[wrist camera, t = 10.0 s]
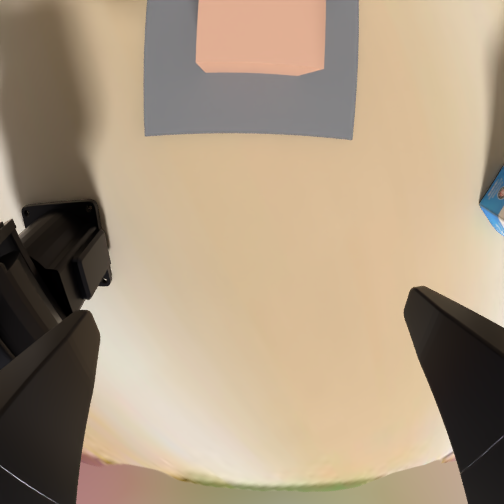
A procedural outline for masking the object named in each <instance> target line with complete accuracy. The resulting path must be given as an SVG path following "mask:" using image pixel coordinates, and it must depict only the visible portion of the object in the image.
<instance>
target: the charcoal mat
mask: <svg viewBox="0 0 504 504" xmlns="http://www.w3.org/2000/svg"><path fill="white" fill-rule="evenodd" d="M198 3H199V0H147V11H146V25H145V46H144V127H145V136H157V135H174V134H199V133H259V134H285V135H302V136H315V137H327V138H337V139H347V140H352V137H353V127H354V115H355V102H356V87H357V69H358V37H359V0H326V27H325V57H324V69H322V70H318V71H314V72H310V73H307V74H303V75H300V76H291V75H279V74H263V73H205V72H204V71H203V70H202V69H201V68H200V67H199V66H198V64H197V63H196V39H197V19H198Z"/></svg>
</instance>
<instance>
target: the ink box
mask: <svg viewBox="0 0 504 504" xmlns="http://www.w3.org/2000/svg"><path fill="white" fill-rule="evenodd" d="M480 207H481V209H482V210H483V212H484V214H485V215H486V217H487V218H488V220H489V221H490V223H491V224H492V225H493V227H494V228H495V229H496V231H497V232H499V233H500V234H501V235H503V236H504V166H503V167H502V169H501V171H500V172H499V174H498V176H497V177H496V179H495V180H494V182H493V184H492V185H491V187H490V188H489V190H488V191H487V193H486V194H485V196H484V197H483V199H482V200H481V202H480Z"/></svg>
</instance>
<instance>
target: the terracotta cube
mask: <svg viewBox="0 0 504 504" xmlns="http://www.w3.org/2000/svg"><path fill="white" fill-rule="evenodd" d="M325 27H326V0H199V3H198V19H197V39H196V63H197V64H198V66H199V67H200V68H201V69H202V70H203V71H204V72H205V73H263V74H279V75H291V76H300V75H303V74H307V73H310V72H314V71H318V70H322V69H324V57H325Z"/></svg>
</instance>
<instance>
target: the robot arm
mask: <svg viewBox="0 0 504 504" xmlns="http://www.w3.org/2000/svg"><path fill="white" fill-rule="evenodd" d="M88 205H90V206H91V207H92V210H90V209H89V208H88ZM27 210H28V212H29V214H28V213H27ZM22 216H23V220H24V224H25V228H26V229H25V230H24V231H22V232H21V233H20V234H19V235H18V233H17V231H16V229H15V228H16V225H15V223H14V221H13V219H10V220H9V221H7V222H5V223H4V224H3V222H0V504H76V496H77V485H78V477H79V469H80V461H81V454H82V447H83V441H84V435H85V429H86V423H87V418H88V413H89V408H90V403H91V398H92V394H93V388H94V382H95V375H96V367H97V359H98V352H99V345H100V333H99V330H98V328H97V325H96V323H95V320H94V318H93V316H92V313H91V312H90V311H88V310H80V308H81V306H82V305H83V303H84V301H85V300H90V299H91V297H92V296H93V294H94V292H95V290H96V289H97V287H98V286H109V285H110V283H111V281H112V276H111V272H110V267H109V266H110V264H111V261H110V257H109V252H108V247H107V242H106V237H105V232H104V231H103V230H102V228H101V223H100V217H99V211H98V205H97V203H96V202H95V201H94V200H92V199H85V200H72V201H61V202H50V203H40V204H30V205H26V206H25V207H23V209H22ZM103 278H106V279H107V280H104V279H103ZM404 318H405V321H406V324H407V327H408V330H409V332H410V335H411V338H412V341H413V344H414V347H415V350H416V353H417V356H418V359H419V362H420V364H421V367H422V369H423V371H424V374H425V376H426V378H427V381H428V383H429V386H430V388H431V391H432V393H433V396H434V398H435V401H436V403H437V406H438V409H439V411H440V414H441V417H442V419H443V422H444V425H445V428H446V431H447V433H448V436H449V439H450V442H451V445H452V448H453V451H454V455H455V458H456V461H457V464H458V468H459V471H460V475H461V479H462V482H463V486H464V489H465V493H466V497H467V501H468V504H504V328H503V327H501V326H500V325H498V324H496V323H494V322H492V321H490V320H489V319H487V318H485V317H483V316H481V315H479V314H477V313H476V312H474V311H472V310H470V309H468V308H466V307H464V306H462V305H460V304H459V303H457V302H455V301H453V300H451V299H449V298H447V297H445V296H443V295H441V294H439V293H437V292H435V291H433V290H431V289H429V288H427V287H425V286H418V287H413V288H412V289H411V290H410V292H409V295H408V298H407V302H406V305H405V308H404Z"/></svg>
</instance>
